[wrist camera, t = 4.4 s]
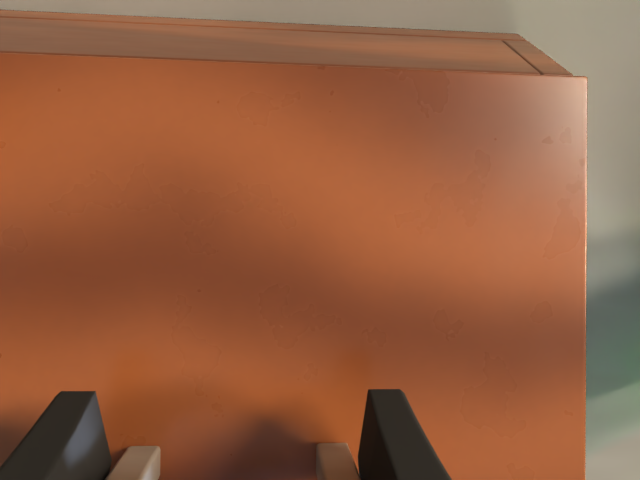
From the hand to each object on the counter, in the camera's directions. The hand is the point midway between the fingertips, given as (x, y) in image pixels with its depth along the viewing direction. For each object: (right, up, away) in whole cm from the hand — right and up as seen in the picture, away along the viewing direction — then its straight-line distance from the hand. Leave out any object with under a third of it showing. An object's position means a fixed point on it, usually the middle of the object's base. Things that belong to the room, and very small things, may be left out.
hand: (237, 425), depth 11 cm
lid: (0, +2, +2) cm, 3 cm away
